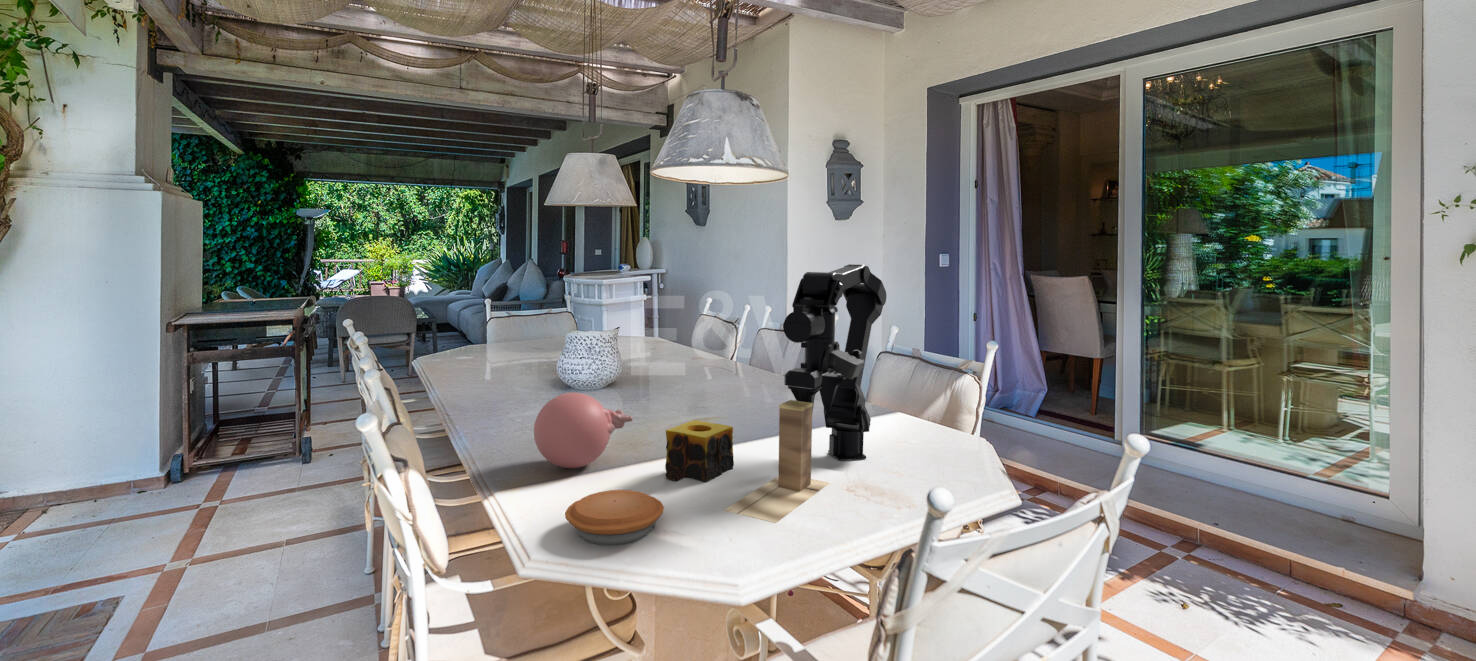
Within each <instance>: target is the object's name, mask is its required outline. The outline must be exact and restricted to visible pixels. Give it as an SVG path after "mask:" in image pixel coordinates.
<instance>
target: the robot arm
mask: <svg viewBox="0 0 1476 661" xmlns="http://www.w3.org/2000/svg"><path fill="white" fill-rule="evenodd" d="M842 297H844V299H845V301H846V303H845V307H846V309H847V313H848V315H849V317H850V322H849V326H848V327H849V328H848V332H847V338H846V343H845V348H844V351H843V350H840V343H839V341H835V339H836V338H835V337H836V332H835V331H836V313H837V312H839V311H838V310H839V308H838V307H837V305H838V303H839V300H840V299H841V298H842ZM886 302H887V292H886V288H885V285H884V283H883V281H882V280H881V279H880V278H879V277H877V276H876V275H875V274H873V273H872V272H871V269H870V267H869V266H868V265H865V264H847V265H844V266H842V267H840V268H837V269H835V270H831V271H829V272H827V271H826V272H823V271H821V272H819V271H806V272H805V273H804V274H803V275H802V277H801V279H800V280H799V283H798V286H797V289H796V293H795V296H794V299H793V302H792V304H791V306H792V308H793V311H792V312H790V313H788V315H786V317H785V319H784V321H783V325H782V329H783V332H784V334H785V336H786V338H787V339H788V340H789V341H790V342H792V343H797V344H799V343H800V348H803V349H804V362H801V363H800V367H796V368H793V369H791V370H788V371H787V372H786V373H785V374H784V381H783V382H784V385H785V386H787V389H789V390H790V391H791V393H792V395H793V397H794V398H795V399H794V400H795V401H802V402H810V403H813V406H812V414H813V413H814V412H813V411H814V405H815V399H816V398H815V397H816V394H817V393H819V394H820V399H821V402H822V406H823V416H824V423H825V428H827V429H829V428H830V429H831V433H830V434H829V435H828V436H829V437H828V438H829V441H828V446H829V447H828V451H827V453H829V454H830V455H831V456H833V457H834V458H835V459H836V460H837V461H850V460H863V459H867V455H866V454H864V433H869V432H870V428H871V421H872V420H871V419H872V418H871V417H870V414H869V412H868V409H867V407H866V398H865V395H864V393H863V390H862V387H861V384H862V381H863V380H862V379H863V375H864V369H865V364H866V359H867V353H868V348H869V347H868V346H869V342H870V338H871V337H870V336H871V333H872V332H871V330H872V325H873V324H875V322H876V321H877V319H879V318H880V317H881V315H882V312H883V308H884V305H886Z"/></svg>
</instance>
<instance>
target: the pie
mask: <svg viewBox="0 0 1476 661" xmlns="http://www.w3.org/2000/svg"><path fill="white" fill-rule="evenodd" d="M664 509H665V506H664V505H663V503H662V501H661V500H659V499H657V498H656V497H654V496H651V495H650V494H648V493H644V492H642V491H639V490H638V491H637V490H631V489H613V490H612V489H611V490H603V491H598V492H594V493H590V494H588V495H587V496H584V497H582V498H580V499H579V500H576V501H574V502H573V503H571V504H570V505H569V506H568V507H567V509H566V510H565V513H564V516H565V519H566V521H568V523H569V524H570V525H572V527H573V528H574V529H575V531H576V532H577V533H578V535H579V537H581V538H582V539H583V540H585V541H586V542H587V543H591V544H595V545H600V546H601V545H602V546H616V545H617V546H618V545H620V546H621V545H625V544H630V543H634V542H636V541H638V540H641V539H643V538H644V537H646V536H647V535H648V534H649V533H650V532H651V531H652V529H653V527H654V526H655V524H656V522H657V520H658V519H659V518H660V517H661V516H662V515H663V513H664Z"/></svg>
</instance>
